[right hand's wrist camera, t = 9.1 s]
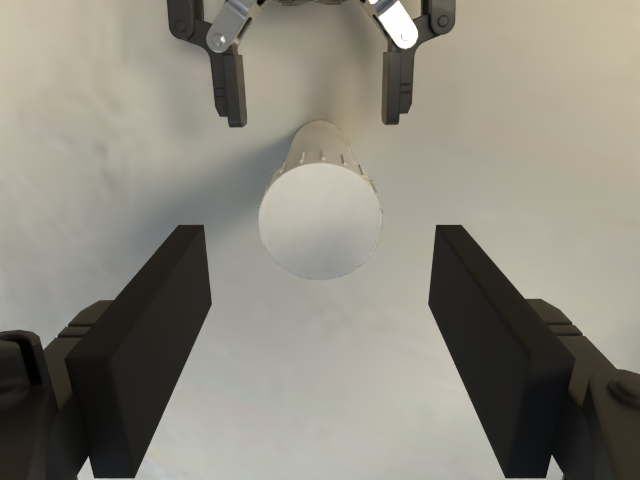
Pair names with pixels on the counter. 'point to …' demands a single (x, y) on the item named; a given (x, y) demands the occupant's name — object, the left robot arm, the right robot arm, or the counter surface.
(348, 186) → the lid
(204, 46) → the left robot arm
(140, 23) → the counter surface
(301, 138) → the white long cylinder
